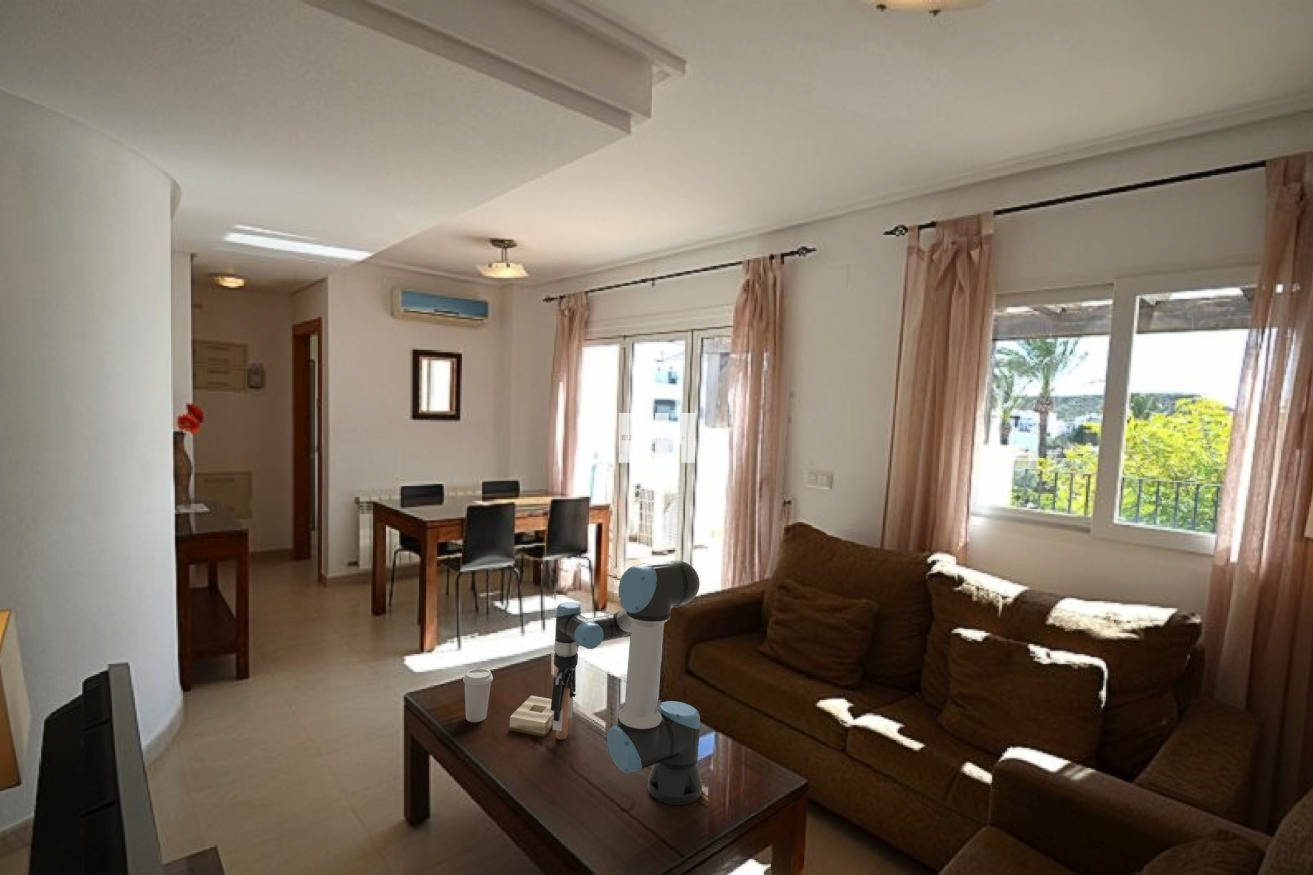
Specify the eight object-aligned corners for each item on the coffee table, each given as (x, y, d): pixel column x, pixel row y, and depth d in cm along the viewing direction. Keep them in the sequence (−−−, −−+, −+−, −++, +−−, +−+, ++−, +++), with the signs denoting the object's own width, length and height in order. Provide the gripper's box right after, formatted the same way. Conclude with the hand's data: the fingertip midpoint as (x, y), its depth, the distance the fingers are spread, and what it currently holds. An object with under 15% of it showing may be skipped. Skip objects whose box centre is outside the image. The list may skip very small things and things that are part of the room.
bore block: (544, 736, 198) (545, 722, 198) (509, 730, 201) (510, 716, 201) (563, 714, 214) (563, 701, 214) (530, 708, 216) (531, 695, 216)
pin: (564, 740, 197) (567, 693, 196) (553, 738, 198) (556, 691, 197) (568, 734, 200) (571, 688, 200) (558, 732, 201) (560, 686, 201)
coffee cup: (495, 712, 212) (497, 668, 212) (484, 725, 203) (487, 680, 202) (467, 709, 213) (470, 665, 213) (456, 722, 204) (458, 677, 203)
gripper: (565, 666, 187) (561, 741, 188) (588, 643, 207) (584, 710, 208) (541, 662, 189) (537, 736, 189) (567, 639, 209) (563, 707, 210)
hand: (562, 723), depth 199 cm, fingers open, 8 cm apart
